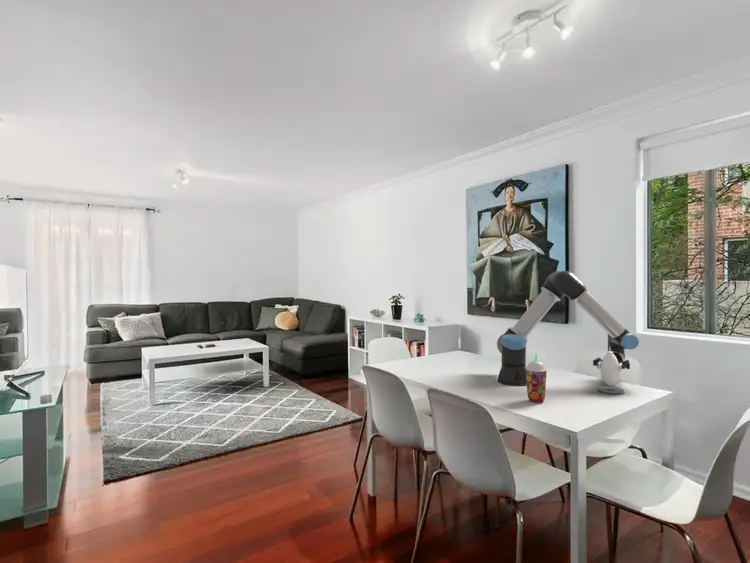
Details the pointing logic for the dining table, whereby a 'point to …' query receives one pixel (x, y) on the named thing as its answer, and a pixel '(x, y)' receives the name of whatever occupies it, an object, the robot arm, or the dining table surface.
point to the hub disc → (610, 390)
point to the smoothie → (536, 381)
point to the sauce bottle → (610, 368)
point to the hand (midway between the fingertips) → (609, 367)
